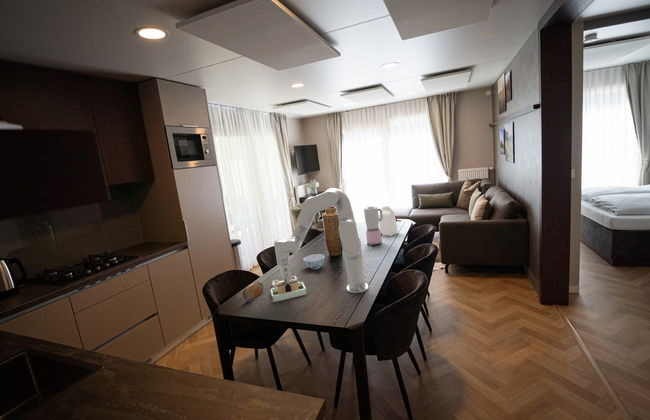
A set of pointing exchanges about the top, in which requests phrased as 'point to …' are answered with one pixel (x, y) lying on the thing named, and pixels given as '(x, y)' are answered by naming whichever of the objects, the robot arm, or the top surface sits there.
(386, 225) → the milk
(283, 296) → the tray
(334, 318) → the top surface
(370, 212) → the blender
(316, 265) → the chinaware
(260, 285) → the orange plastic package
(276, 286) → the clip holder
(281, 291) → the tan rectangular block
